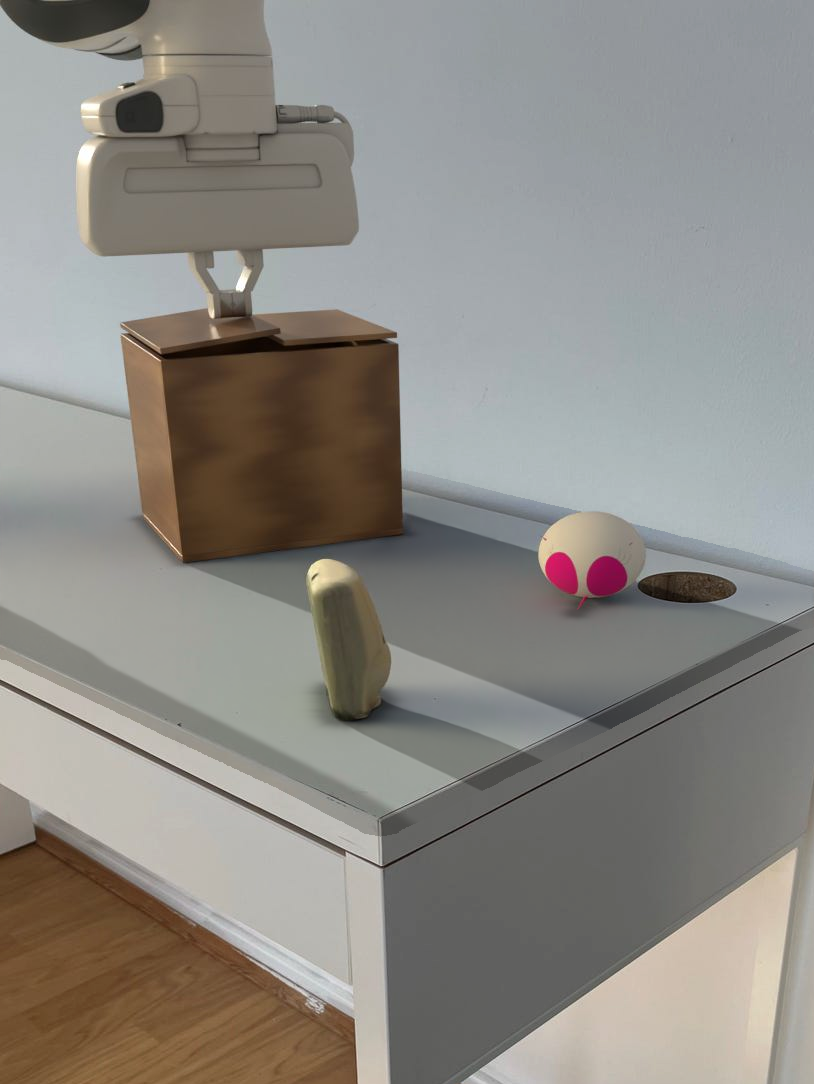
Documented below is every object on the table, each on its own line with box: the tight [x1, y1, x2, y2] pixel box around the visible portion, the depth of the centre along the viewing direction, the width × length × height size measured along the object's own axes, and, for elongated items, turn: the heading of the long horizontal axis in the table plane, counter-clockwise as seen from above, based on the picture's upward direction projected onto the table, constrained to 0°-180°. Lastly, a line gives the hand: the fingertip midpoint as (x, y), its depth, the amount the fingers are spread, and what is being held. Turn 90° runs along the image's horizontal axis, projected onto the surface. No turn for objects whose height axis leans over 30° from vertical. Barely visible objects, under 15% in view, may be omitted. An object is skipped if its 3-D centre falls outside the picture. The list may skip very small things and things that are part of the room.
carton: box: [119, 308, 404, 563], centre depth 104 cm, size 18×13×15 cm
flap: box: [119, 307, 281, 354], centre depth 99 cm, size 9×13×1 cm
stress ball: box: [538, 510, 647, 609], centre depth 93 cm, size 8×8×7 cm
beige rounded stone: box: [305, 558, 392, 721], centre depth 75 cm, size 6×5×8 cm
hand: (230, 316), depth 99 cm, fingers closed
